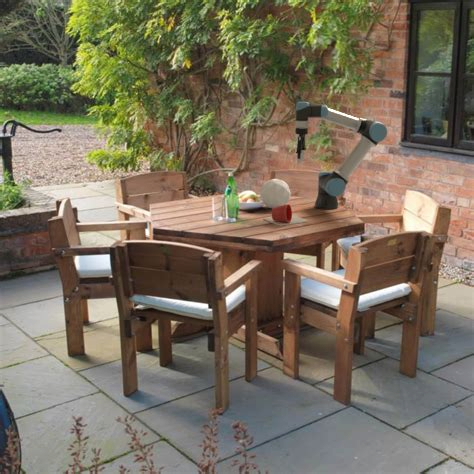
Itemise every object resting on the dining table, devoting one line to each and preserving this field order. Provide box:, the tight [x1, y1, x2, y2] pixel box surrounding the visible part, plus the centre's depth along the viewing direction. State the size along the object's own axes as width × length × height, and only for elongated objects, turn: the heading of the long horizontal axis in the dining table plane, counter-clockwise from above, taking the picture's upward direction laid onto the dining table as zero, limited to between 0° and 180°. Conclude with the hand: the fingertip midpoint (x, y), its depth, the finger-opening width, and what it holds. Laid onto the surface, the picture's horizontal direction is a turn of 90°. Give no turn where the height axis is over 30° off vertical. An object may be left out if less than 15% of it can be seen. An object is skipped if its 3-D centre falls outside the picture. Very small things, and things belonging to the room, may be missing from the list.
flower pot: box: [271, 203, 293, 222], centre depth 429 cm, size 11×11×10 cm
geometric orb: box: [259, 178, 292, 210], centre depth 466 cm, size 19×20×20 cm
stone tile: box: [262, 214, 309, 227], centre depth 435 cm, size 20×18×1 cm
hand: (300, 162), depth 449 cm, fingers open, 13 cm apart
